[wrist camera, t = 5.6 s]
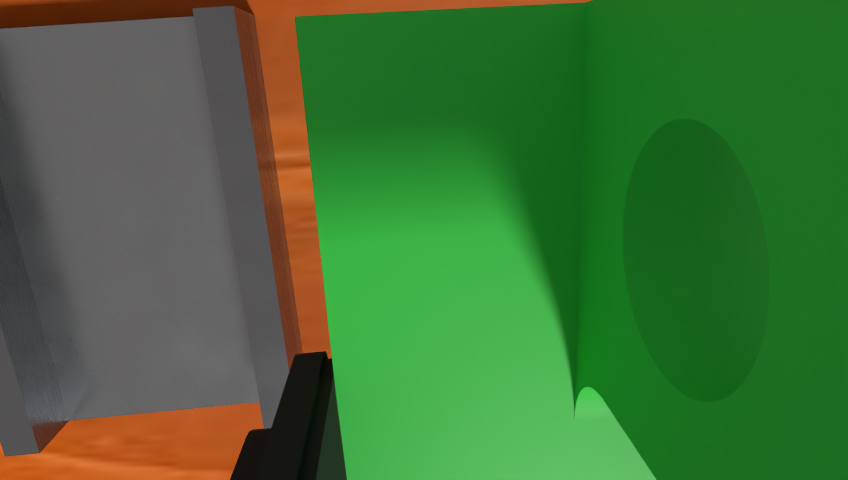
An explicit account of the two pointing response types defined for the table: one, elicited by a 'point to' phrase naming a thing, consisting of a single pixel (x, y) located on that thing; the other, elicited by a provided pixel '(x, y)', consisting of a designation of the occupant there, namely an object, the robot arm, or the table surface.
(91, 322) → the cradle
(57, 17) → the table surface
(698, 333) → the mechanical part
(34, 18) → the table surface
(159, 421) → the table surface
